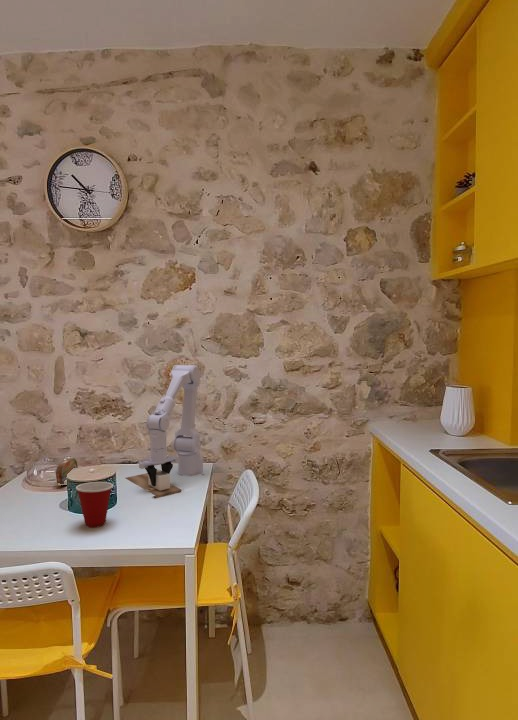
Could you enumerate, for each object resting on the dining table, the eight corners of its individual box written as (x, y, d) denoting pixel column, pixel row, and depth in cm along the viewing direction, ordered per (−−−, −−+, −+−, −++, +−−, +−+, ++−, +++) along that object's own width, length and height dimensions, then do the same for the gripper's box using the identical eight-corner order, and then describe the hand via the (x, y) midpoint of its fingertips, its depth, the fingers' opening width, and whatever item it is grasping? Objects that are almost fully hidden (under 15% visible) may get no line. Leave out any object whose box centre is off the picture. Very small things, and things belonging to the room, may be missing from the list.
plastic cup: (121, 518, 155) (120, 480, 154) (100, 532, 145) (99, 492, 144) (92, 514, 158) (90, 477, 158) (69, 528, 148) (67, 488, 147)
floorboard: (148, 475, 199) (148, 472, 199) (181, 492, 179) (181, 488, 179) (124, 480, 193) (124, 477, 193) (155, 498, 173) (155, 495, 173)
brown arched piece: (63, 489, 184) (62, 466, 183) (54, 489, 184) (53, 466, 183) (78, 476, 199) (78, 455, 198) (71, 476, 199) (70, 455, 198)
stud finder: (158, 482, 186) (158, 467, 186) (170, 488, 179) (169, 473, 179) (148, 484, 184) (148, 470, 183) (159, 490, 177) (159, 475, 176)
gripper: (170, 442, 188) (171, 477, 189) (134, 448, 179) (135, 485, 180) (180, 445, 182) (181, 482, 183) (143, 452, 173) (144, 490, 174)
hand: (159, 484), depth 181 cm, fingers closed on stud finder, 4 cm apart
